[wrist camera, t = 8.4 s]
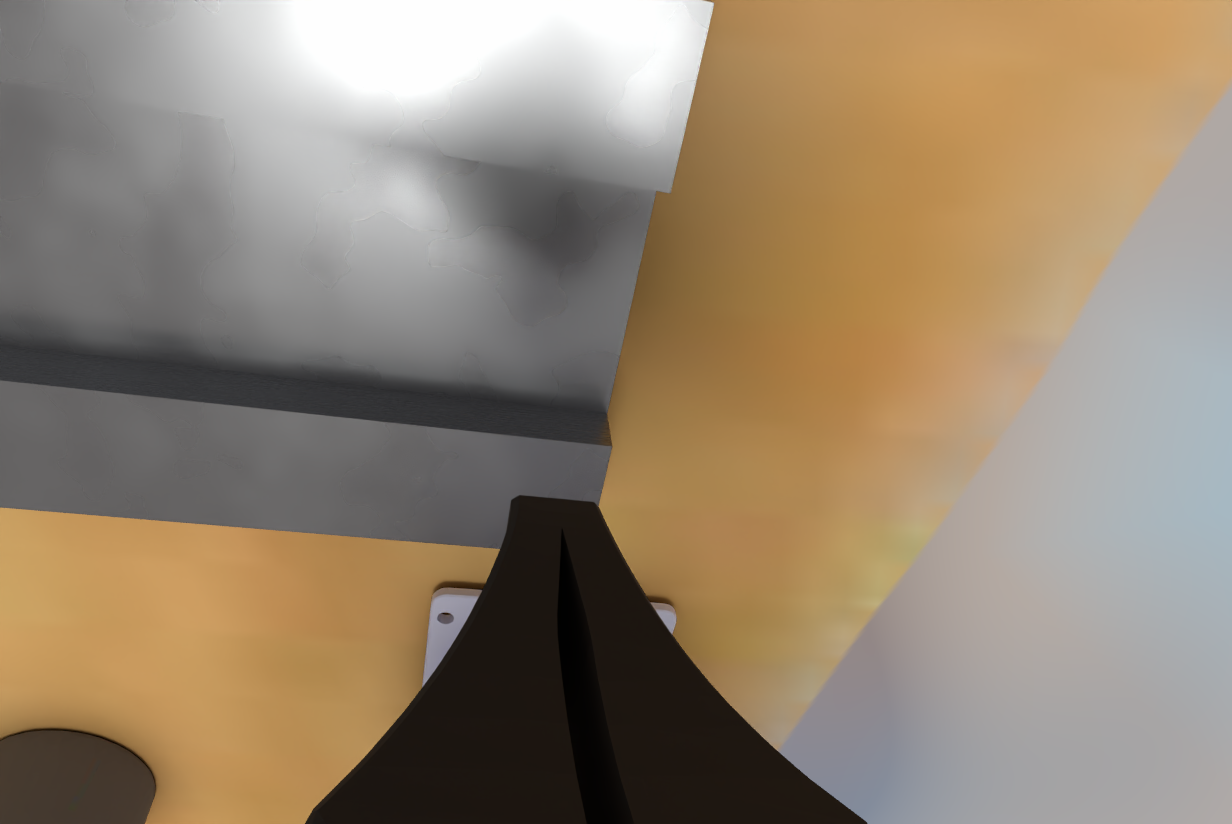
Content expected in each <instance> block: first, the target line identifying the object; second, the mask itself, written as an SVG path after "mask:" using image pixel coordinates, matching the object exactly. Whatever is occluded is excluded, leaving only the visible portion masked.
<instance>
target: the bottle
mask: <svg viewBox="0 0 1232 824" xmlns="http://www.w3.org/2000/svg"><path fill="white" fill-rule="evenodd" d="M154 796H155V783H154V779H153V776H152V774H151V772H150V770H149V769H148V768H147V767H146V766H145V764H144V763H143V762H142V761H141V760H140V759H138V758H137V757H136V756H135V755H133V754H132V753H131V752H129V751H128V750H126V749H124V748H122V747H120V746H119V745H117V744H114V743H112V742H109V741H107V740H104V739H101V738H99V737H95V736H91V735H87V734H83V733H77V732H70V731H53V730H43V731H32V732H26V733H22V734H18V735H14V736H10V737H8V738H5V739H3V740H1V741H0V824H145V821H146V819H147V816H148V813H149V810H150V808H151V805H152V802H153V799H154Z"/></svg>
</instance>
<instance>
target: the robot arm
mask: <svg viewBox="0 0 1232 824" xmlns="http://www.w3.org/2000/svg"><path fill="white" fill-rule="evenodd" d="M444 612H447V613H451V614H450V615H444V614H441V613H444ZM676 619H677V617H676V613H675V610H674V608H673V607H672V606H670V605H669V604H664V603H652V602H650V601H649V600H648V598H647V596H646V595H645V593H644V591H643V590H642V588H641V586H640V585H639V583H638V581H637V580H636V578H635V577H634V575H633V573H632V571H631V570H630V568H629V566H628V564H627V563H626V561H625V559H624V557H623V555H622V553H621V552H620V550H619V548H618V546H617V544H616V542H615V540H614V538H613V536H612V534H611V532H610V530H609V528H608V526H607V524H606V522H605V520H604V518H603V515H602V513H601V511H600V509H599V507H598V506H597V505H596V504H595V502H590V501H579V500H569V499H558V498H547V497H536V496H525V495H518V496H517V497H515V498H514V499H512V500H511V504H510V510H509V517H508V523H507V530H506V534H505V537H504V540H503V543H502V546H501V549H500V551H499V554H498V556H497V558H496V561H495V563H494V566H493V568H492V570H491V573H490V575H489V577H488V580H487V582H486V584H485V586H484V588H483V590H476V589H462V588H441V589H439V590H437V591H436V592H435V593H434V594H433V596H432V600H431V609H430V618H429V628H428V637H427V646H426V656H425V665H424V675H423V684H422V689H421V690H420V691H419V693H418V694H417V696H416V697H415V698H414V699H413V701H412V702H411V703H410V705H409V706H408V707H407V708H406V710H405V711H404V712H403V713H402V715H401V716H400V717H399V718H398V719H397V720H396V722H395V723H394V724H393V725H392V726H391V727H390V729H389V730H388V731H387V732H386V733H385V734H384V736H383V737H382V738H381V739H380V740H379V741H378V743H377V744H376V745H375V746H374V747H373V748H372V750H371V751H370V752H369V753H368V754H367V755H366V756H365V757H364V758H363V759H362V761H361V762H360V763H359V764H358V765H357V766H356V767H355V768H354V769H353V770H352V771H351V772H350V773H349V774H348V775H347V776H346V777H345V778H344V779H343V780H342V781H341V782H340V783H339V784H338V785H337V786H336V787H335V788H334V789H333V790H332V791H331V792H330V793H329V794H328V795H327V796H326V797H325V798H324V799H323V800H322V801H321V802H320V803H319V804H318V805H317V806H316V807H315V808H314V809H313V811H312V813H311V814H310V816H309V818H308V819H307V821H306V823H305V824H867V822H866V821H864V820H863V819H862V818H861V817H859V816H858V815H857V814H855V813H854V812H853V811H851V810H850V809H848V808H847V807H846V806H845V805H843V804H842V803H841V802H839V801H838V800H837V799H835V798H834V797H833V796H832V795H830V794H829V793H828V792H826V791H825V790H824V789H822V788H821V787H820V786H818V785H817V784H816V783H814V782H813V781H812V780H810V779H809V778H808V777H807V776H806V775H804V774H803V773H802V772H801V771H800V770H799V769H797V768H796V767H795V766H794V765H793V764H792V763H791V762H789V761H788V760H787V759H786V758H785V757H784V756H782V755H781V754H780V753H779V752H778V751H777V750H776V749H774V748H773V747H772V746H771V745H770V744H769V743H768V742H767V741H766V740H765V739H764V738H763V737H762V736H761V735H760V734H759V733H757V732H756V731H755V730H754V729H753V728H752V727H751V726H750V725H749V724H748V723H747V722H746V721H745V720H744V719H743V718H742V717H741V716H740V715H739V714H738V713H737V712H736V711H735V710H734V709H733V708H732V707H731V706H730V705H729V704H728V703H727V701H726V700H725V699H724V698H723V697H722V696H721V695H720V694H719V692H718V691H717V690H716V689H715V688H714V687H713V686H712V685H711V683H710V682H709V681H708V680H707V679H706V678H705V676H704V675H703V674H702V673H701V671H700V670H699V669H698V668H697V667H696V665H695V664H694V663H693V662H692V660H691V659H690V658H689V657H688V655H687V654H686V653H685V651H684V650H683V649H682V647H681V646H680V645H679V643H678V642H677V641H676V639H675V638H674V637H673V635H672V634H673V631H674V628H675V625H676Z"/></svg>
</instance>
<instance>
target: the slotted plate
mask: <svg viewBox="0 0 1232 824" xmlns="http://www.w3.org/2000/svg"><path fill="white" fill-rule="evenodd" d="M713 7H714V3H713V2H712V1H710V0H0V507H2V508H14V509H26V510H38V511H50V512H63V513H75V514H87V515H99V516H111V517H123V518H135V519H147V520H159V521H171V522H183V523H195V524H207V525H219V526H231V527H243V528H255V529H267V530H279V531H291V532H303V533H315V534H327V535H340V536H352V537H364V538H376V539H388V540H400V541H412V542H424V543H436V544H448V545H460V546H472V547H484V548H496V549H501V546H502V543H503V540H504V537H505V534H506V530H507V523H508V517H509V510H510V504H511V500H512V499H514V498H515V497H517V496H518V495H525V496H536V497H547V498H558V499H569V500H579V501H590V502H595V504H596V505H597V506H599V501H600V497H601V493H602V488H603V484H604V480H605V475H606V471H607V467H608V462H609V458H610V454H611V449H612V442H611V436H610V430H609V423H608V417H607V412H608V407H609V403H610V398H611V394H612V389H613V385H614V380H615V376H616V371H617V367H618V362H619V358H620V353H621V349H622V344H623V340H624V335H625V331H626V326H627V321H628V317H629V312H630V308H631V303H632V299H633V294H634V290H635V285H636V281H637V276H638V272H639V267H640V263H641V258H642V254H643V249H644V245H645V240H646V236H647V231H648V227H649V222H650V217H651V213H652V208H653V204H654V199H655V195H656V191H659V192H665V193H671V189H672V185H673V180H674V176H675V172H676V167H677V163H678V159H679V154H680V150H681V146H682V141H683V137H684V133H685V128H686V124H687V120H688V115H689V111H690V107H691V102H692V98H693V94H694V89H695V85H696V81H697V76H698V72H699V68H700V63H701V59H702V55H703V50H704V46H705V42H706V37H707V33H708V29H709V24H710V20H711V15H712V11H713Z"/></svg>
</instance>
